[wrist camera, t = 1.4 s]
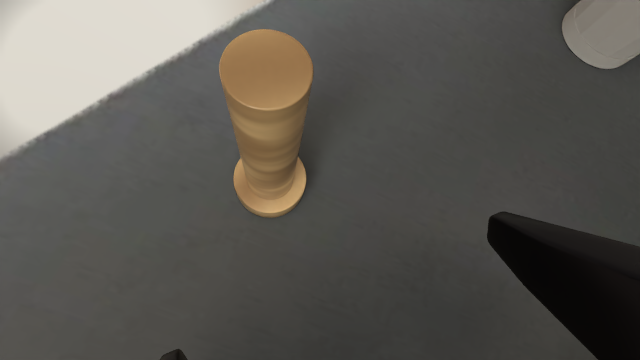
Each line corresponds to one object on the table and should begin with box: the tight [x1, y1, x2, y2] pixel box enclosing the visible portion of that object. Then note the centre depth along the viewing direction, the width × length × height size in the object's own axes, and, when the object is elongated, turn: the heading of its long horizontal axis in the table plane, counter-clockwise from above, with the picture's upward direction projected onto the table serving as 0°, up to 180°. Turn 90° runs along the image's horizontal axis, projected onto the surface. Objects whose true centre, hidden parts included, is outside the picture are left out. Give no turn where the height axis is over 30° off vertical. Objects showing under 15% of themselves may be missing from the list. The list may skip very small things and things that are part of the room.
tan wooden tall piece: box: [219, 29, 313, 218], centre depth 17 cm, size 4×4×13 cm
